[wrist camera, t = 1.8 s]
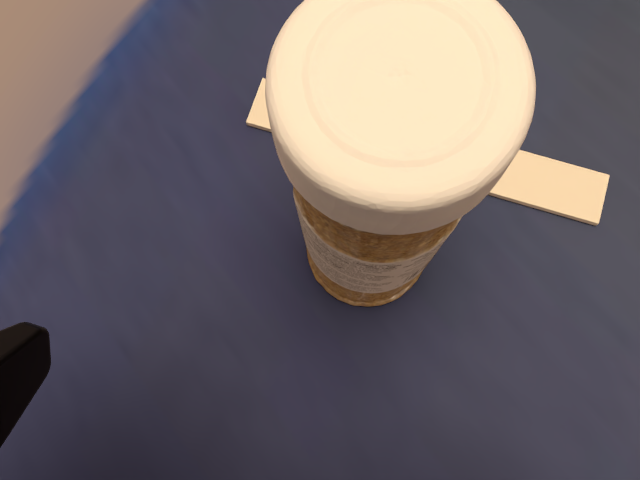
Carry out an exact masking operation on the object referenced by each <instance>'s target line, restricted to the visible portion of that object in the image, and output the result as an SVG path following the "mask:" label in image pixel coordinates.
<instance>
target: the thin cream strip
mask: <svg viewBox="0 0 640 480" xmlns="http://www.w3.org/2000/svg"><path fill="white" fill-rule="evenodd" d="M265 83H266V79H264V78H262V81H261V84H260V86H259V89H258V92H257V94H256V97H255V100H254V103H253V105H252V108H251V111H250V113H249V116H248V119H247V121H246V123H247V125H248V126H252V127H255V128H259V129H262V130H266V131H269V132H271V127H270V122H269V117H268V112H267V106H266V99H265ZM609 176H610V175H607V174H604V173H600V172H597V171H593V170H589V169H586V168H582V167H579V166H575V165H572V164H568V163H564V162H561V161H557V160H554V159H550V158H547V157H543V156H539V155H536V154H532V153H529V152H525V151H522V150H519V151H518V153H517V154H516V156H515V157H514V159H513V160H512V162H511V163H510V165H509V166H508V168H507V169H506V171H505V172H504V174H503V175H502V177H501V178H500V180H499V181H498V182H497V183H496V185H495V186H494V187H493V189H492V190H491V191H490V192H489V193H488V194H487V195H491V196H494V197H498V198H501V199H505V200H508V201H511V202H515V203H518V204H522V205H525V206H529V207H532V208H536V209H539V210H543V211H546V212H550V213H553V214H556V215H560V216H563V217H567V218H570V219H574V220H577V221H581V222H584V223H588V224H591V225H595V226H596V225H597V224H599V220H600V216H601V211H602V207H603V203H604V198H605V194H606V189H607V185H608V180H609Z"/></svg>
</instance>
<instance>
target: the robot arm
mask: <svg viewBox="0 0 640 480" xmlns="http://www.w3.org/2000/svg"><path fill="white" fill-rule="evenodd" d="M50 365H51V355H50V339H49V332H48V331H47V329H46V328H44V327H41V326H38V325H35V324H32V323H29V322H22V323H18V324H16V325H13V326H11V327H8V328H6V329H3V330H1V331H0V447H1V446H2V444H3V443H4V441H5V440H6V438H7V437H8V435H9V434H10V432H11V431H12V429H13V428H14V426H15V424H16V423H17V421H18V420H19V418H20V417H21V415H22V414H23V412H24V410H25V409H26V407H27V406H28V404H29V403H30V401H31V400H32V398H33V396H34V395H35V393H36V392H37V390H38V389H39V387H40V386H41V384H42V383H43V381H44V379H45V378H46V376H47V374H48V372H49V369H50Z"/></svg>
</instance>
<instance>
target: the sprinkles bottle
mask: <svg viewBox="0 0 640 480" xmlns="http://www.w3.org/2000/svg"><path fill="white" fill-rule="evenodd" d="M535 93H536V81H535V73H534V68H533V62H532V58H531V54H530V52H529V49H528V47H527V44H526V42H525V39H524V37H523V35H522V33H521V31H520V29H519V28H518V26H517V25H516V23H515V22H514V20H513V19H512V18H511V16H510V15H509V14H508V13H507V11H506V10H505V9H504V8H503V7H502V6H501V5H500V4H499V3H498V2H497V1H496V0H304V1H303V2H302V3H301V4H300V5H299V6H298V7H297V8H296V9H295V10H294V12H293V13H292V14H291V15H290V17H289V18H288V19H287V21H286V22H285V24H284V25H283V27H282V29H281V30H280V32H279V34H278V36H277V38H276V40H275V43H274V45H273V47H272V50H271V53H270V57H269V61H268V66H267V72H266V83H265V99H266V106H267V112H268V117H269V122H270V127H271V132H272V136H273V140H274V143H275V147H276V151H277V154H278V157H279V159H280V162H281V165H282V167H283V169H284V171H285V173H286V174H287V176H288V178H289V180H290V182H291V183H292V184H293V186H294V189H293V196H294V200H295V204H296V208H297V212H298V216H299V220H300V224H301V228H302V232H303V236H304V239H305V243H306V246H307V256H308V260H309V264H310V266H311V269H312V271H313V274H314V277H315V278H316V280H317V281H318V282H319V283H320V284H321V285H322V286H323V287H324V289H325V290H326V291H327V292H328V293H329V294H331V295H332V296H334V297H335V298H337V299H338V300H340V301H343V302H346V303H348V304H351V305H353V306H367V307H369V306H378V305H383V304H386V303H389V302H392V301H394V300H396V299H398V298H399V297H401V296H402V295H403V294H404V293H405V292H406V291H408V290H409V289H410V288H411V287H412V286H413V284H414V283H415V282H416V281H417V280H418V278H419V276H420V275H421V273H422V270H423V269H424V268H425V267H426V266H427V264H428V263H429V262H430V260H431V259H432V258H433V256H434V255H435V254H436V252H437V251H438V250H439V248H440V247H441V245H442V244H443V243H444V241H445V240H446V239H447V237H448V236H449V235H450V234H451V232H452V231H453V230H454V229H455V227H456V226H457V224H458V222H459V221H460V219H461V218H462V216H463V215H464V214H466V213H467V212H469V211H470V210H471V209H473V208H474V207H475V206H476V205H478V204H479V203H480V202H481V201H482V200H483V199H484V198H485V196H486V195H487V194H488V193H489V192H490V191H491V190H492V189H493V187H494V186H495V185H496V183H497V182H498V181H499V180H500V178H501V177H502V175H503V174H504V172H505V171H506V169H507V168H508V166H509V165H510V163H511V162H512V160H513V159H514V157H515V156H516V154H517V153H518V151H519V149H520V147H521V145H522V143H523V141H524V139H525V138H526V135H527V132H528V129H529V127H530V124H531V121H532V117H533V112H534V107H535Z"/></svg>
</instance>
